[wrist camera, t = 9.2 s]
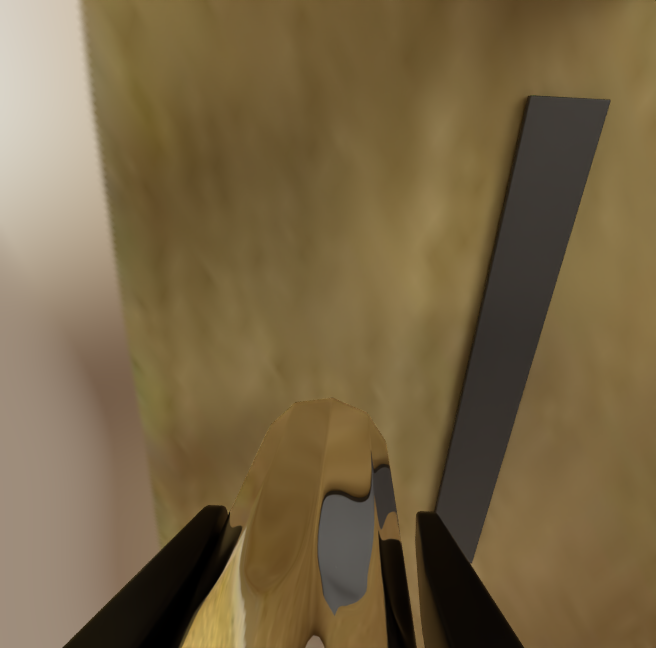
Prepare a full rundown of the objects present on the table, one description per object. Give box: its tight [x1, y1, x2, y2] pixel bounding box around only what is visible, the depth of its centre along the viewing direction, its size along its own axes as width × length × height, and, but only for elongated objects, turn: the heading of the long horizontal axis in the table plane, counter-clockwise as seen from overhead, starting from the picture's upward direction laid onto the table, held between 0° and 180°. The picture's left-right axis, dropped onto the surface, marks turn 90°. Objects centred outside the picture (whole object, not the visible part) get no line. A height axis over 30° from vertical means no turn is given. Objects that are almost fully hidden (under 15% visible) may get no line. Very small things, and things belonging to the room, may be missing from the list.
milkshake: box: [166, 398, 417, 648], centre depth 7 cm, size 4×5×10 cm
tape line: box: [434, 95, 610, 563], centre depth 13 cm, size 16×2×1 cm, turn 177°
